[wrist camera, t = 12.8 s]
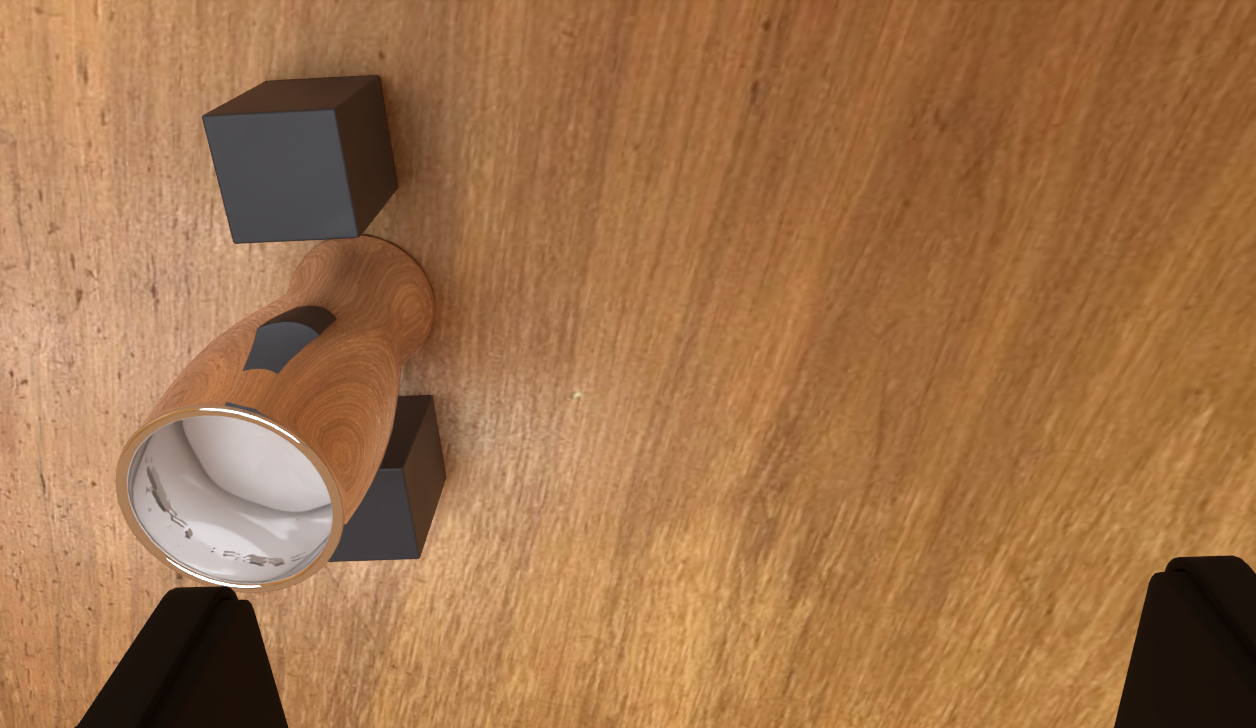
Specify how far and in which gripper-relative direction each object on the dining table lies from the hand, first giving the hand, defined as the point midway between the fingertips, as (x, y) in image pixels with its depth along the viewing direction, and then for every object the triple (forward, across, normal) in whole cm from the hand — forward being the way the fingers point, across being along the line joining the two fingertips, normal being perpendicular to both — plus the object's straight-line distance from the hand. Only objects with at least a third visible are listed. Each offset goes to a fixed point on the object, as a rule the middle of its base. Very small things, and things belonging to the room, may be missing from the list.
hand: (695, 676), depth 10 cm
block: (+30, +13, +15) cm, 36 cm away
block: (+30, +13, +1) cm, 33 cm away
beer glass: (+31, +13, +8) cm, 34 cm away
